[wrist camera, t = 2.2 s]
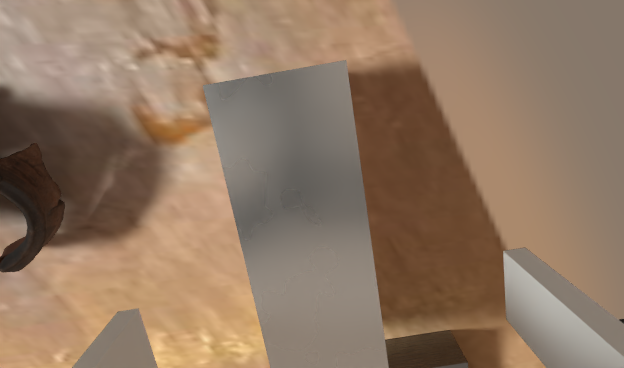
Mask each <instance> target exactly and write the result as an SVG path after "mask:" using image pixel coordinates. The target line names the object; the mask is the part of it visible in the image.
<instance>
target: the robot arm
mask: <svg viewBox="0 0 624 368" xmlns="http://www.w3.org/2000/svg"><path fill="white" fill-rule="evenodd" d="M503 258H504V281H505V303H506V319H507V321H508V322H509V323H510V324H511V325H512V327H513V328H514V329H515V330H516V331H517V333H518V334H519V335H520V336H521V338H522V339H523V340H524V341H525V342H526V344H527V345H528V346H529V347H530V348H531V350H532V351H533V352H534V353H535V354H536V356H537V357H538V358H539V359H540V361H541V362H542V363H543V364H544V365H545V367H546V368H624V319H620V320H618V319H617V318H615V317H614V316H613V315H612V314H610V313H609V312H608V311H607V310H605V309H604V308H603V307H601V306H600V305H599V304H598V303H596V302H595V301H594V300H592V299H591V298H590V297H588V296H587V295H586V294H585V293H583V292H582V291H581V290H579V289H578V288H577V287H576V286H574V285H573V284H572V283H570V282H569V281H568V280H567V279H565V278H564V277H563V276H561V275H560V274H559V273H557V272H556V271H555V270H554V269H552V268H551V267H550V266H548V265H547V264H546V263H545V262H543V261H542V260H541V259H539V258H538V257H537V256H535V255H534V254H533V253H532V252H530V251H529V250H528V249H526V248H520V249H513V250H506V251H503ZM72 368H158V367H157V364H156V361H155V358H154V355H153V352H152V349H151V346H150V342H149V339H148V336H147V333H146V330H145V327H144V324H143V321H142V318H141V315H140V312H139V309H132V310H125V311H119V312H117V313H116V315H115V316H114V317H113V318H112V320H111V321H110V322H109V323H108V324H107V326H106V327H105V328H104V329H103V331H102V332H101V333H100V334H99V335H98V337H97V338H96V339H95V340H94V341H93V343H92V344H91V345H90V346H89V348H88V349H87V350H86V351H85V352H84V354H83V355H82V356H81V357H80V359H79V360H78V361H77V362H76V363H75V365H74V366H73V367H72Z"/></svg>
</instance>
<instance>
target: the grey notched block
mask: <svg viewBox="0 0 624 368" xmlns="http://www.w3.org/2000/svg"><path fill="white" fill-rule="evenodd" d="M203 88H204V93H205V97H206V101H207V105H208V109H209V113H210V118H211V122H212V126H213V130H214V134H215V138H216V143H217V147H218V151H219V155H220V159H221V163H222V168H223V172H224V176H225V180H226V184H227V188H228V193H229V197H230V201H231V205H232V209H233V213H234V218H235V222H236V226H237V230H238V234H239V239H240V243H241V247H242V251H243V255H244V259H245V264H246V268H247V272H248V276H249V280H250V284H251V289H252V293H253V297H254V301H255V305H256V309H257V314H258V318H259V322H260V326H261V330H262V334H263V339H264V343H265V347H266V351H267V355H268V359H269V364H270V368H389V366H388V359H387V352H386V344H385V337H384V330H383V323H382V315H381V308H380V301H379V294H378V286H377V279H376V272H375V265H374V257H373V250H372V243H371V236H370V228H369V221H368V214H367V207H366V199H365V192H364V185H363V178H362V170H361V163H360V156H359V149H358V141H357V134H356V127H355V120H354V112H353V105H352V98H351V91H350V83H349V76H348V69H347V62H346V60H344V61H338V62H333V63H327V64H321V65H316V66H310V67H304V68H299V69H293V70H287V71H282V72H276V73H270V74H265V75H259V76H254V77H248V78H242V79H237V80H231V81H225V82H220V83H214V84H208V85H203Z"/></svg>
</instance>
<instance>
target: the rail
mask: <svg viewBox="0 0 624 368" xmlns="http://www.w3.org/2000/svg"><path fill="white" fill-rule="evenodd" d="M385 344H386V352H387V359H388V366H389V368H468V362H467V360H466V358H465V356H464V355H463V353H462V351H461V349H460V348H459V346H458V344H457V342H456V340H455V339H454V337H453V335H452V333H451V331H450V330H448V331H442V332H435V333H429V334H422V335H416V336H409V337H403V338H396V339H390V340H385Z"/></svg>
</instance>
